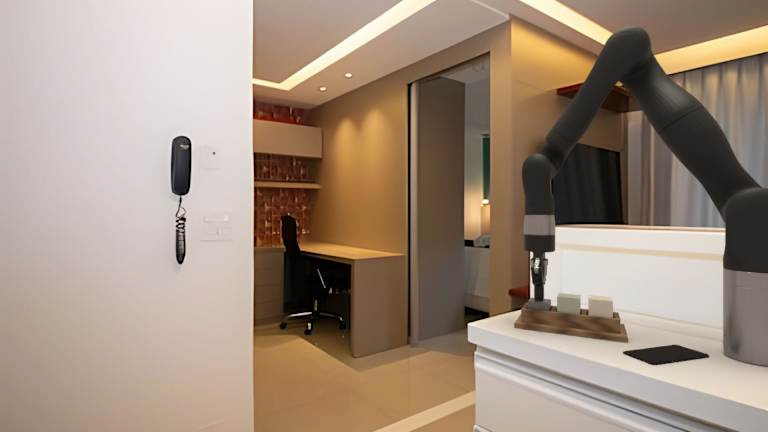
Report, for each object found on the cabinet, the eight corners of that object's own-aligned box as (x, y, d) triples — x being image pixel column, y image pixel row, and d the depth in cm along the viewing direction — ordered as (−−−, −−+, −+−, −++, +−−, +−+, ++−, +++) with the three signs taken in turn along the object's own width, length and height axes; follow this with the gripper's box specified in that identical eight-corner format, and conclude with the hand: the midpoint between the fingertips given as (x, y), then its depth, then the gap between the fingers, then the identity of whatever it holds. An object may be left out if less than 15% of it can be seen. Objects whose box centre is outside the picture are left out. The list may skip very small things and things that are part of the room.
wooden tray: (624, 328, 95) (624, 311, 95) (628, 343, 84) (628, 322, 84) (522, 316, 106) (522, 300, 106) (514, 327, 96) (514, 310, 96)
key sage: (580, 314, 96) (580, 295, 96) (579, 318, 92) (579, 298, 92) (558, 311, 99) (558, 293, 99) (557, 316, 94) (557, 296, 94)
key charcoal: (551, 317, 100) (551, 299, 100) (549, 322, 95) (549, 303, 95) (530, 315, 102) (530, 297, 102) (527, 320, 98) (527, 301, 98)
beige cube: (612, 317, 93) (612, 297, 93) (612, 322, 89) (612, 301, 89) (588, 314, 95) (588, 295, 95) (588, 319, 91) (588, 299, 91)
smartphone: (621, 351, 78) (675, 343, 82) (621, 355, 78) (675, 347, 82) (653, 363, 72) (711, 354, 76) (653, 367, 72) (711, 359, 76)
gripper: (552, 234, 91) (552, 307, 91) (557, 232, 103) (557, 297, 103) (519, 233, 95) (519, 303, 95) (527, 231, 106) (527, 294, 106)
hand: (539, 300), depth 99 cm, fingers closed
